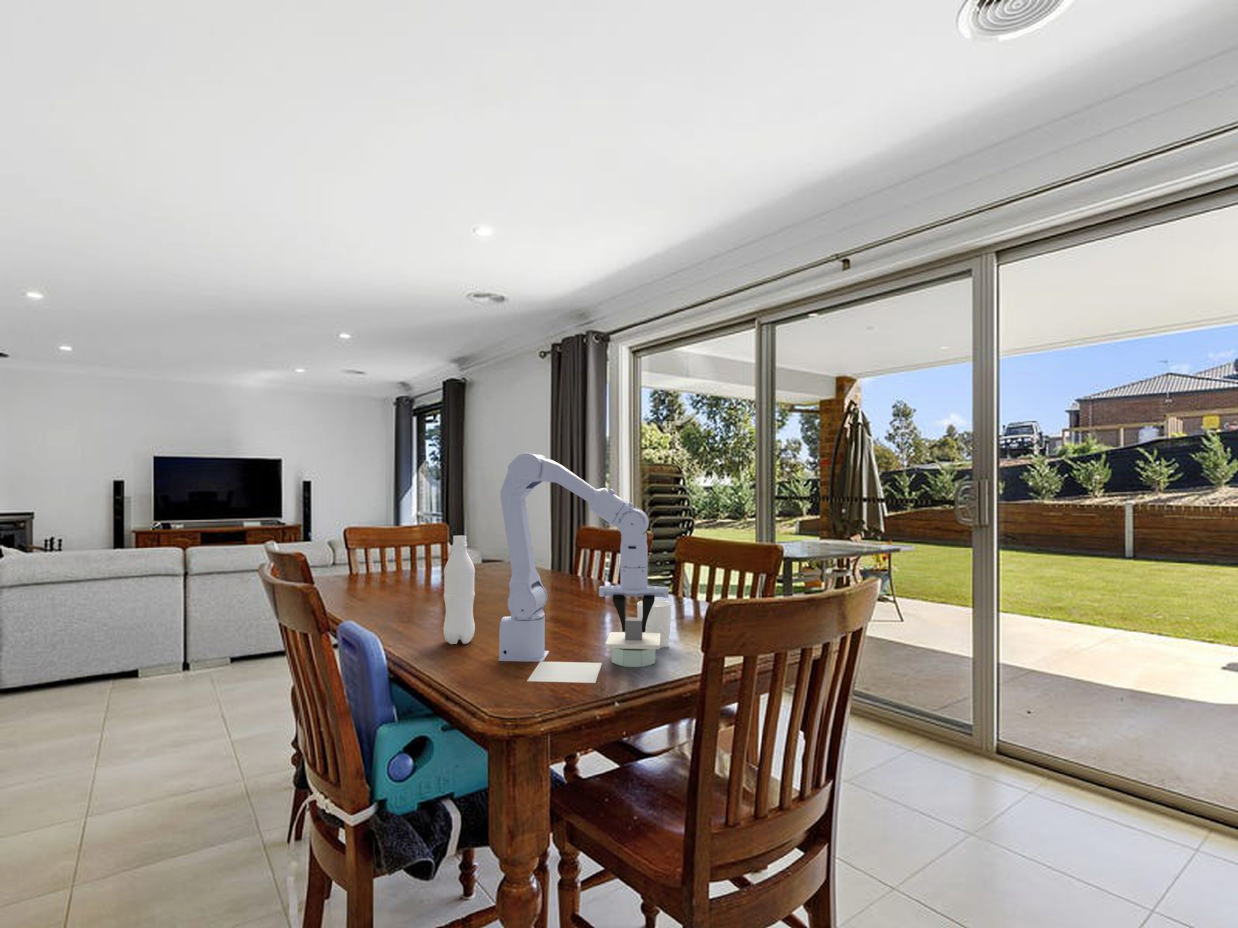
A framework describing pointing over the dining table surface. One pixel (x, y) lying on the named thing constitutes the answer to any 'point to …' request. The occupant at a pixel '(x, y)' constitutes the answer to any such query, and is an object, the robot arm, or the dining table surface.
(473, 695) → the dining table surface
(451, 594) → the water bottle
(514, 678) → the dining table surface
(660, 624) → the white cup
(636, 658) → the bowl
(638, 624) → the lid
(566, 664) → the cream square tray
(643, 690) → the dining table surface
